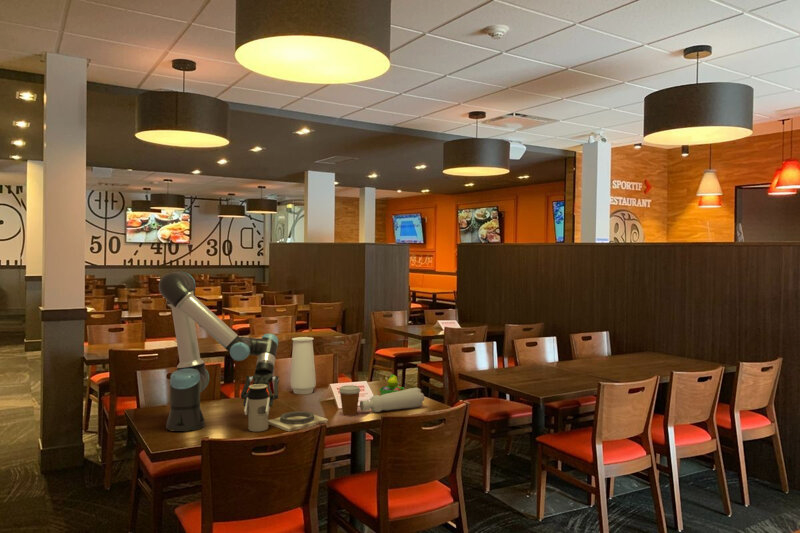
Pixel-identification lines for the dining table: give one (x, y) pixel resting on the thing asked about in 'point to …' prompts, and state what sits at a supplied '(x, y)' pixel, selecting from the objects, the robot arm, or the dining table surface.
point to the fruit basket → (391, 386)
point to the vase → (303, 366)
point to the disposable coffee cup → (349, 399)
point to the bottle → (394, 400)
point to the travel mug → (257, 408)
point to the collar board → (294, 427)
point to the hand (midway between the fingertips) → (256, 413)
